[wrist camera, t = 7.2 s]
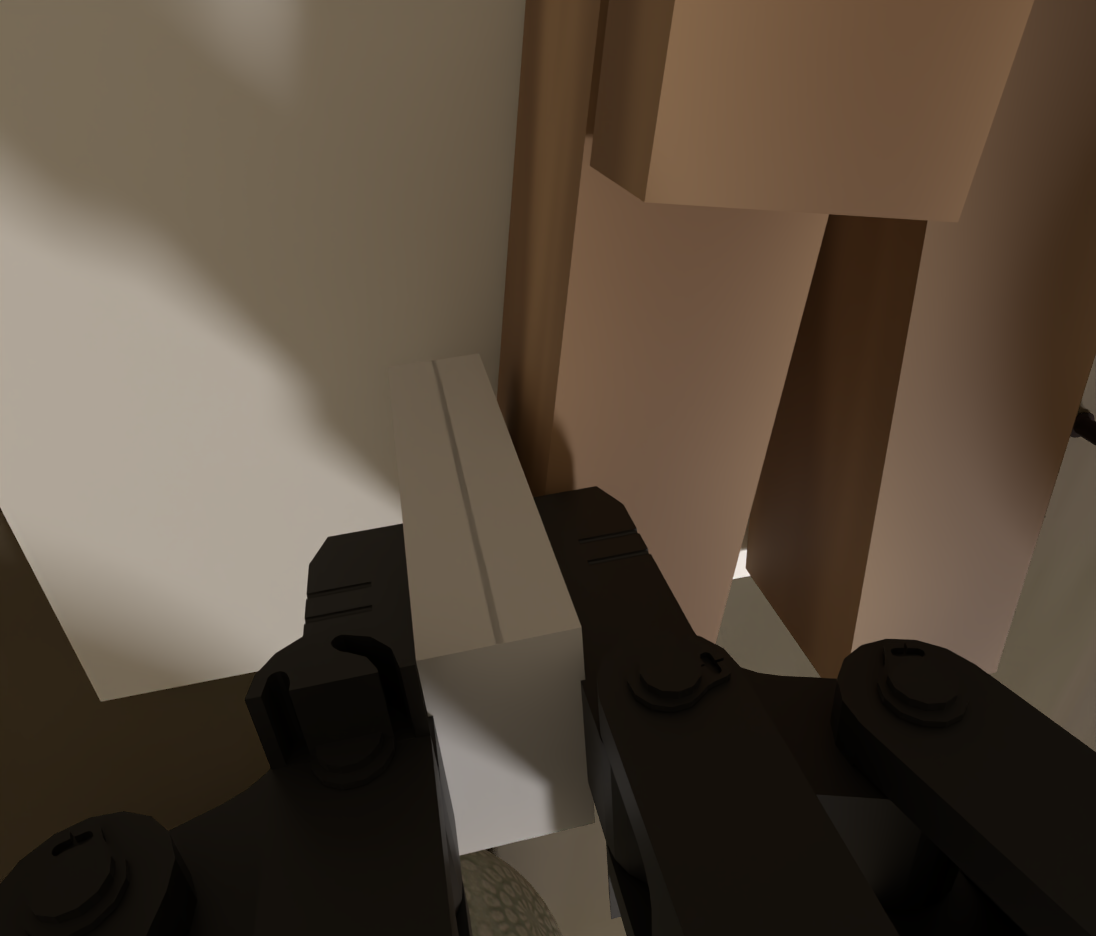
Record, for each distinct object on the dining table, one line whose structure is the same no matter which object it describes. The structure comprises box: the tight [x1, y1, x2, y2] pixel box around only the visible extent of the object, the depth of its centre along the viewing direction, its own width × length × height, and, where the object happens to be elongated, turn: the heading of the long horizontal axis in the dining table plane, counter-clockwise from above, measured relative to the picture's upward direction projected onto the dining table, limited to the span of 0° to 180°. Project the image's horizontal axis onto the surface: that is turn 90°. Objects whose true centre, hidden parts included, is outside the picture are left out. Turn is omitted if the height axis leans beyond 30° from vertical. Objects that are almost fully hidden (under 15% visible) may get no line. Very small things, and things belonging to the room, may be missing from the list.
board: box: [0, 0, 750, 702], centre depth 13 cm, size 17×16×1 cm
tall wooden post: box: [746, 0, 1096, 679], centre depth 12 cm, size 4×15×6 cm, turn 4°
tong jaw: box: [497, 0, 1034, 644], centre depth 10 cm, size 8×16×6 cm, turn 174°
